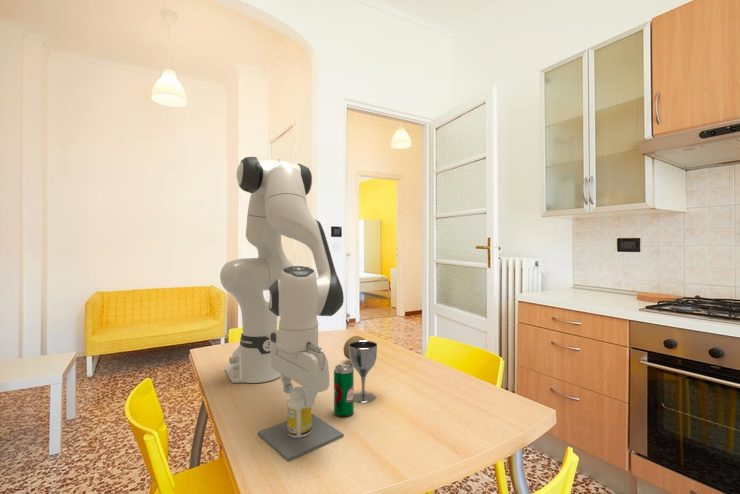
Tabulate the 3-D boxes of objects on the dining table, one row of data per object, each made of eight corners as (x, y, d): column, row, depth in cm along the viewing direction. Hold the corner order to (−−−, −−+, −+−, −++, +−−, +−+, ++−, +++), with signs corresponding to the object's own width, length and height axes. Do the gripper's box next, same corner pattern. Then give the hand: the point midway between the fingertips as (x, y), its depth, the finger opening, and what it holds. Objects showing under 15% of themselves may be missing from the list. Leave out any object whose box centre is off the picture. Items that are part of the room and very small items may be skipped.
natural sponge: (362, 369, 126) (361, 340, 126) (339, 366, 130) (338, 338, 130) (371, 361, 135) (371, 334, 135) (349, 358, 138) (349, 332, 138)
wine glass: (356, 405, 98) (356, 349, 98) (344, 394, 105) (344, 342, 105) (382, 399, 101) (382, 346, 101) (369, 389, 108) (369, 339, 108)
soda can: (351, 418, 90) (350, 370, 90) (331, 416, 91) (331, 369, 91) (355, 409, 95) (355, 363, 95) (337, 407, 96) (337, 362, 96)
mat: (257, 434, 83) (257, 431, 83) (310, 415, 92) (310, 412, 92) (288, 461, 73) (288, 458, 73) (343, 436, 82) (343, 433, 82)
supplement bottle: (312, 426, 86) (312, 384, 85) (310, 438, 80) (310, 394, 80) (289, 427, 85) (288, 385, 85) (285, 439, 80) (285, 395, 80)
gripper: (336, 346, 77) (336, 411, 77) (289, 328, 92) (289, 382, 92) (311, 352, 73) (311, 420, 73) (265, 332, 88) (265, 388, 88)
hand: (298, 399), depth 83 cm, fingers open, 8 cm apart
